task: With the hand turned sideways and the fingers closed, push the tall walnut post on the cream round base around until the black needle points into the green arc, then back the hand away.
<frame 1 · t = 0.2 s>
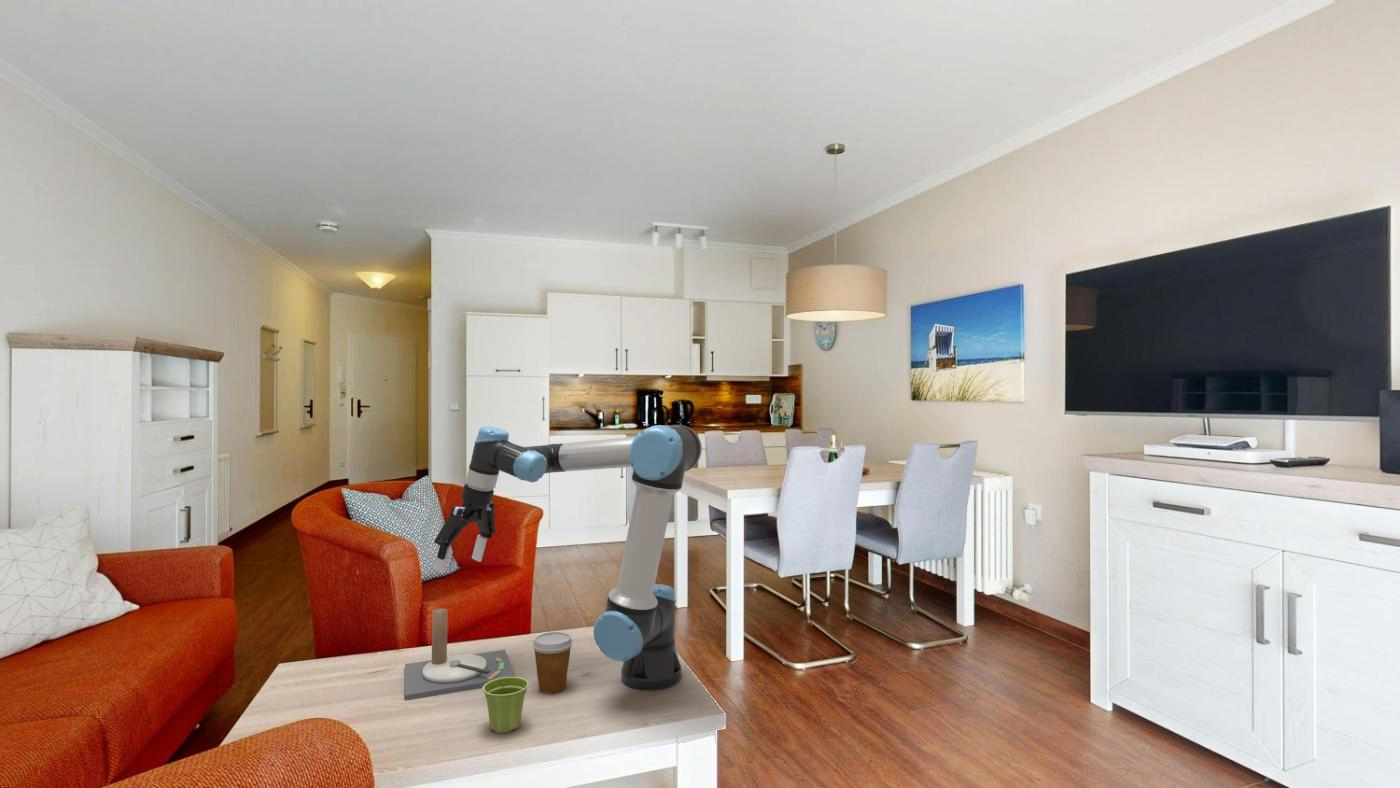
hand: (458, 565, 168), 27 cm above the table, tool tilted 15°, fingers open, 13 cm apart
post on round base: (455, 642, 164), point 8 cm above the table, hinge at 0.0°
plant pot: (505, 727, 139), on the table
disposable coffee cup: (552, 688, 158), on the table
dial plate: (454, 675, 165), on the table
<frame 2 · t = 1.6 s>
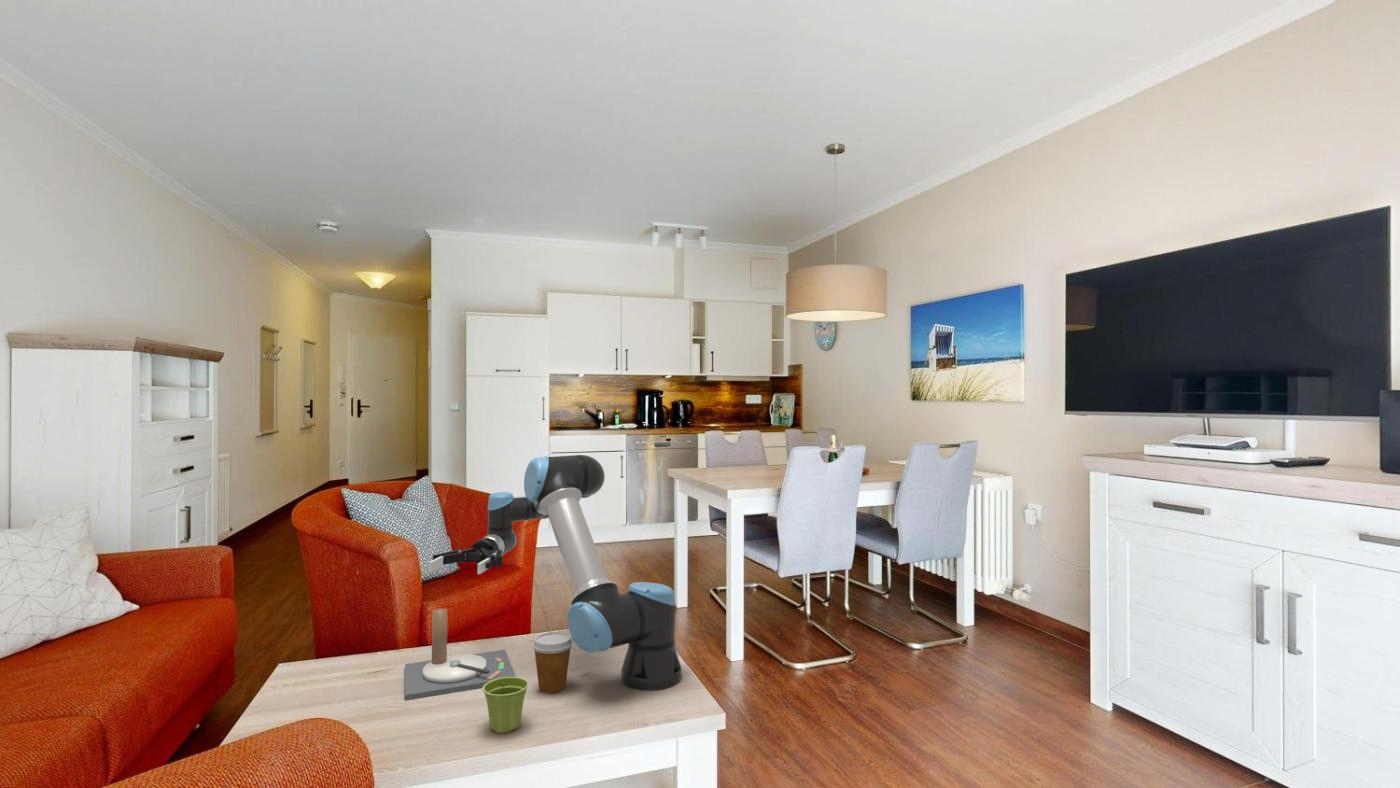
hand: (454, 568, 175), 25 cm above the table, tool horizontal, fingers open, 13 cm apart
nothing on the table moved.
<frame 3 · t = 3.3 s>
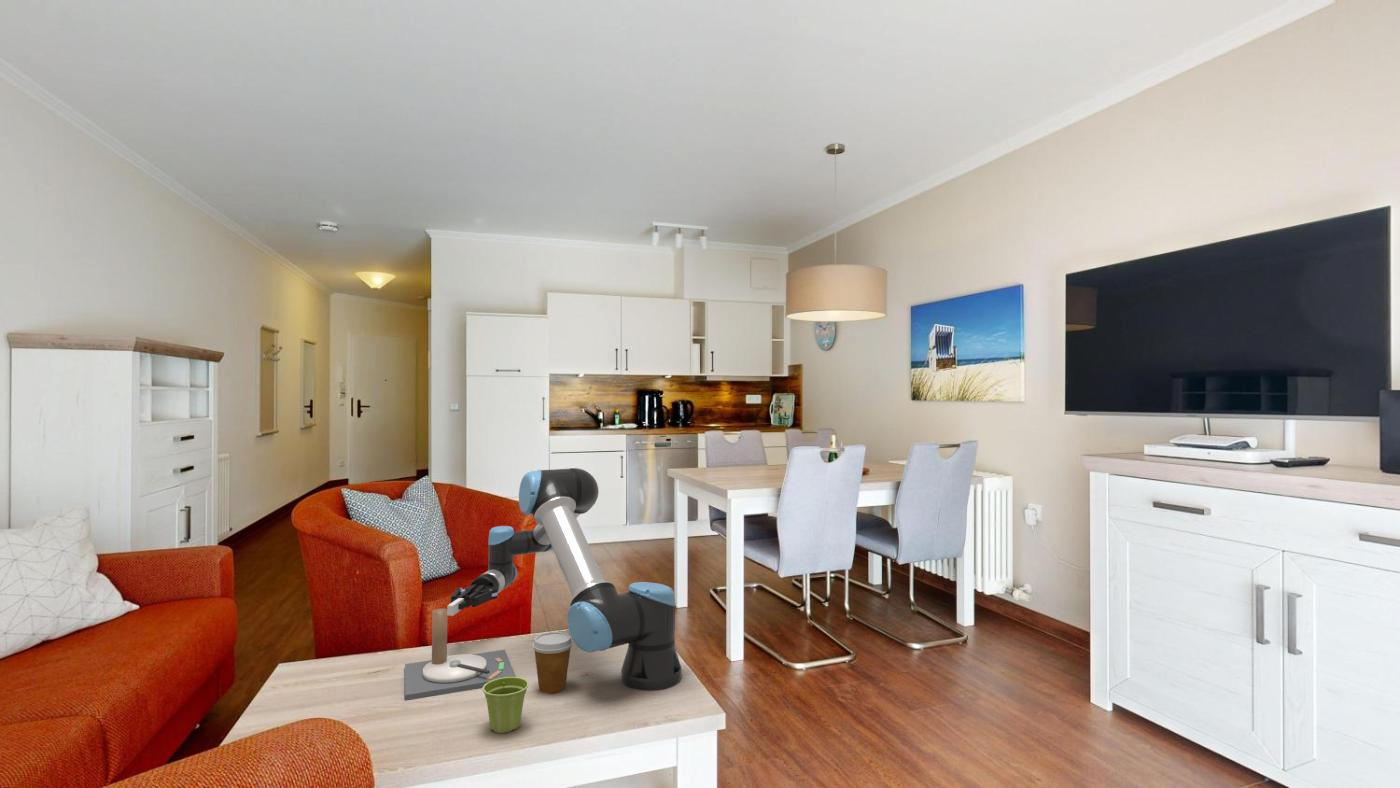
hand: (450, 610, 174), 14 cm above the table, tool horizontal, fingers closed
nothing on the table moved.
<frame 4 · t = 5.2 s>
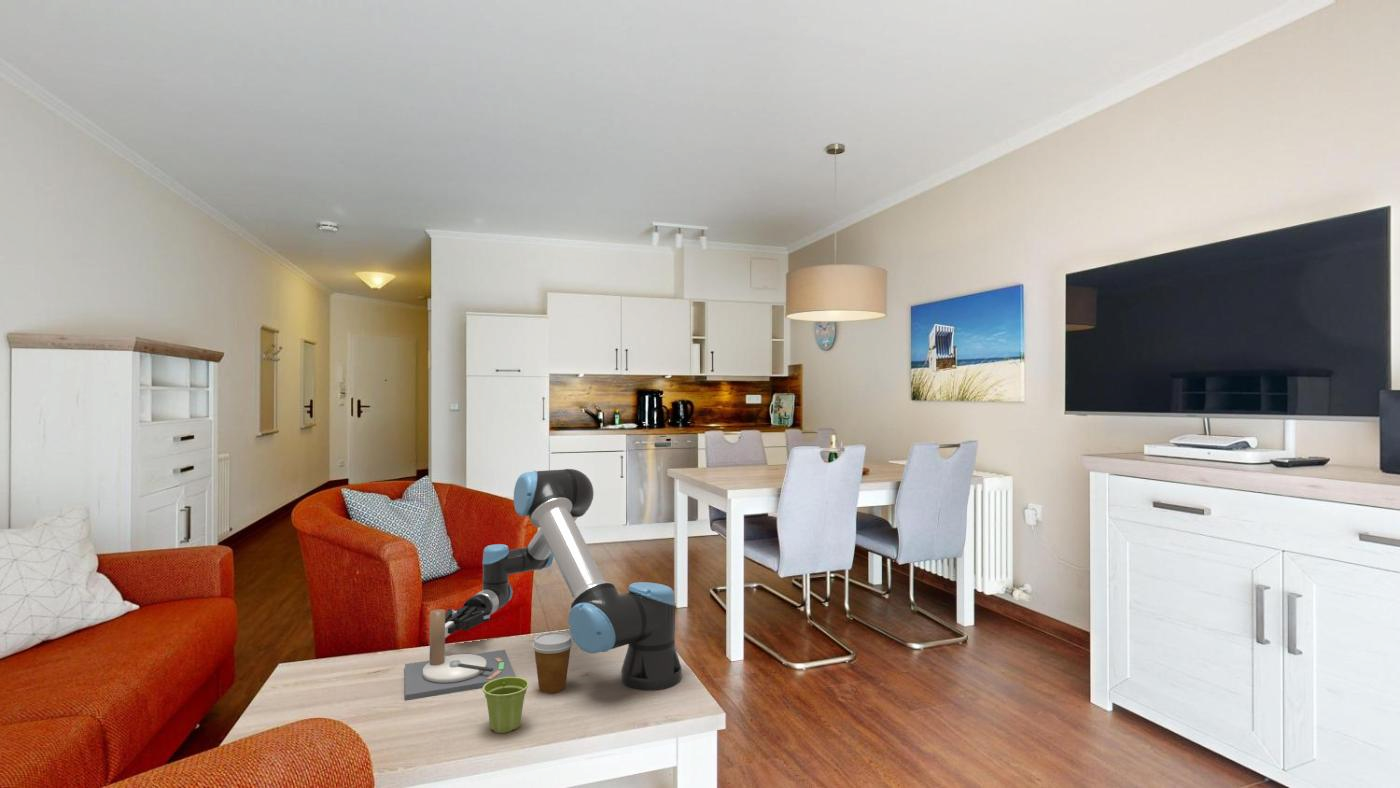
hand: (438, 635, 169), 9 cm above the table, tool horizontal, fingers closed
post on round base: (455, 642, 165), point 9 cm above the table, hinge at 7.7°, touching gripper
everything else where it was.
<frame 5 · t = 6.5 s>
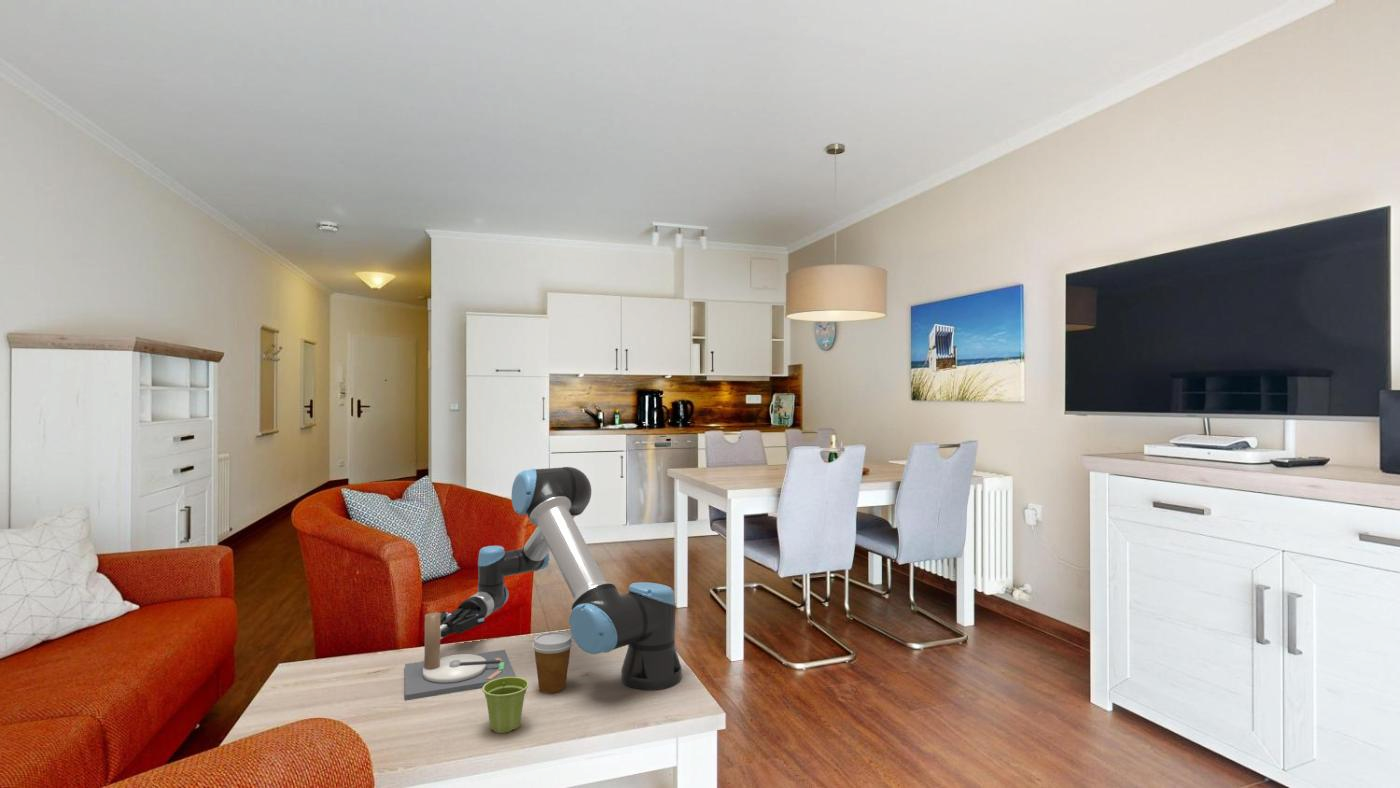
hand: (431, 638, 166), 9 cm above the table, tool horizontal, fingers closed
post on round base: (456, 642, 165), point 8 cm above the table, hinge at 35.4°, touching gripper
everything else where it was.
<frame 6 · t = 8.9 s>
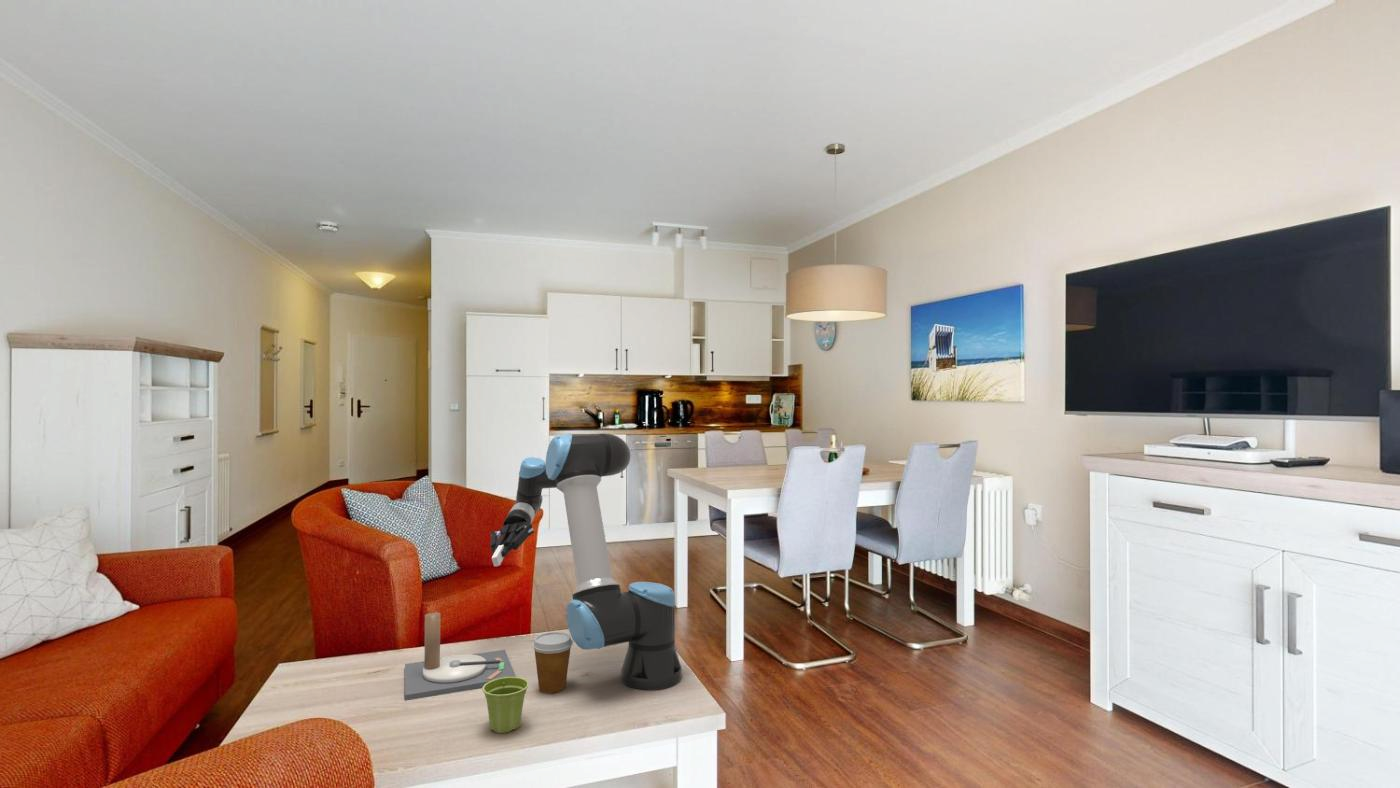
hand: (495, 561, 177), 26 cm above the table, tool tilted 70°, fingers closed
post on round base: (456, 642, 165), point 8 cm above the table, hinge at 35.5°
everything else where it was.
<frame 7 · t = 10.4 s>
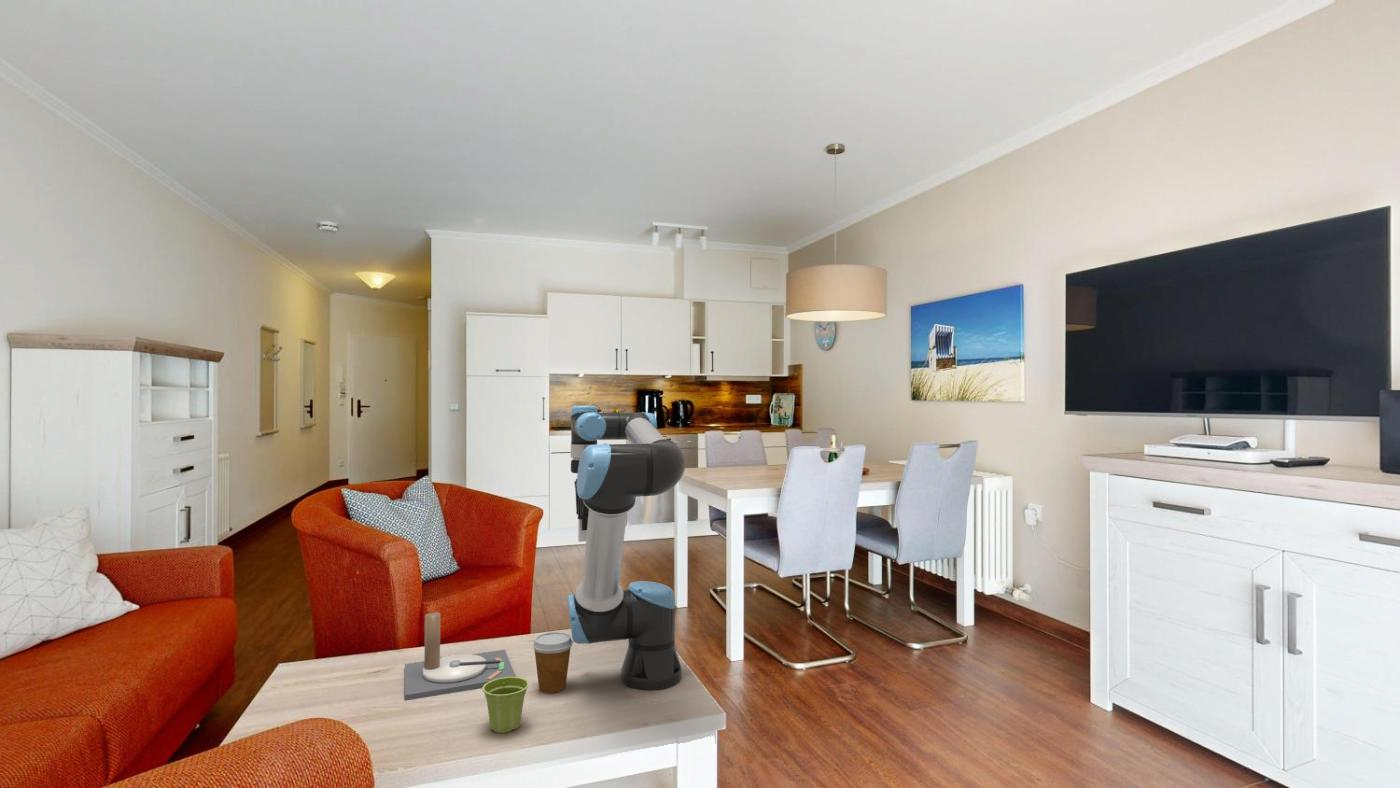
hand: (583, 540, 188), 29 cm above the table, tool pointing down, fingers closed
nothing on the table moved.
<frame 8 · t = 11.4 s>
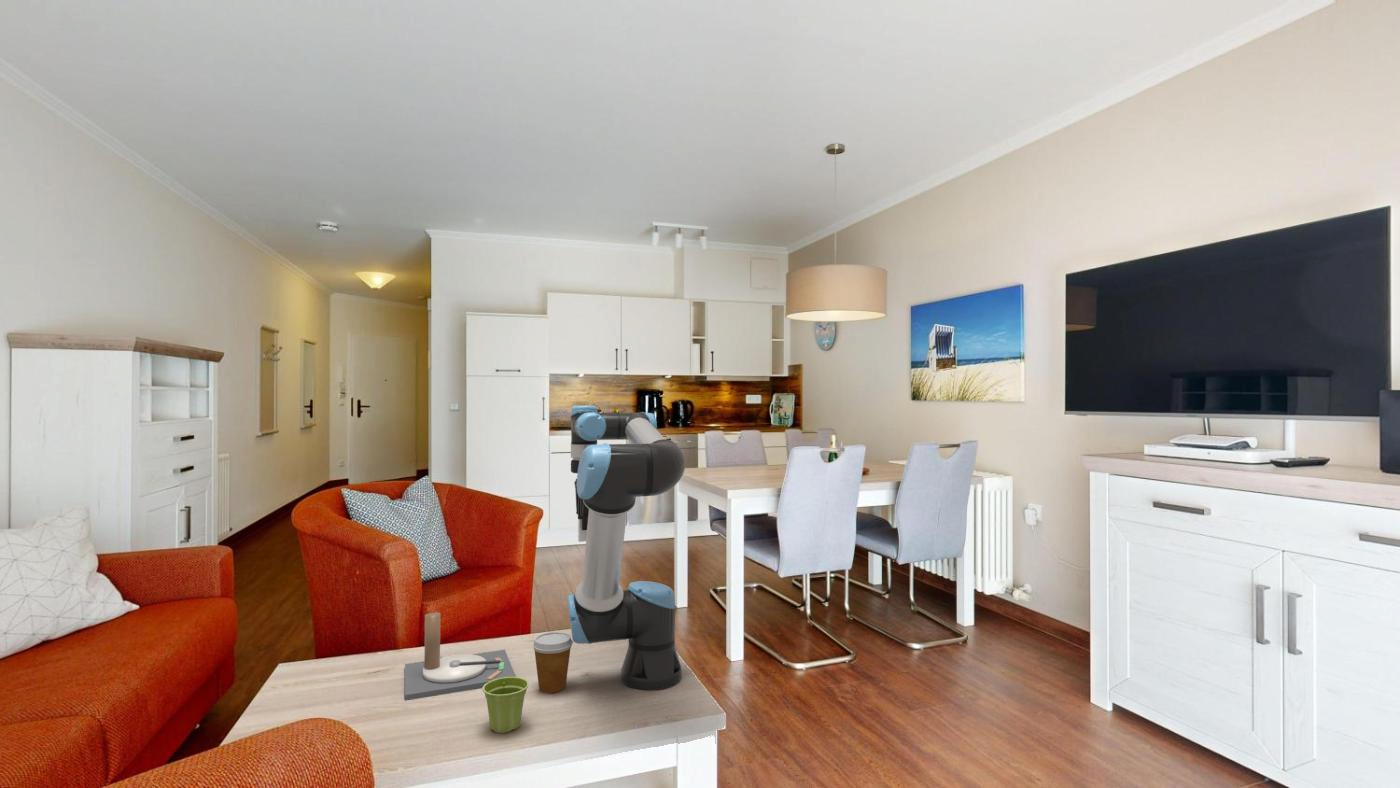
hand: (583, 540, 188), 29 cm above the table, tool pointing down, fingers closed
nothing on the table moved.
at the end: post on round base at +36° (first picture: +0°); the gripper is holding nothing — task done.
